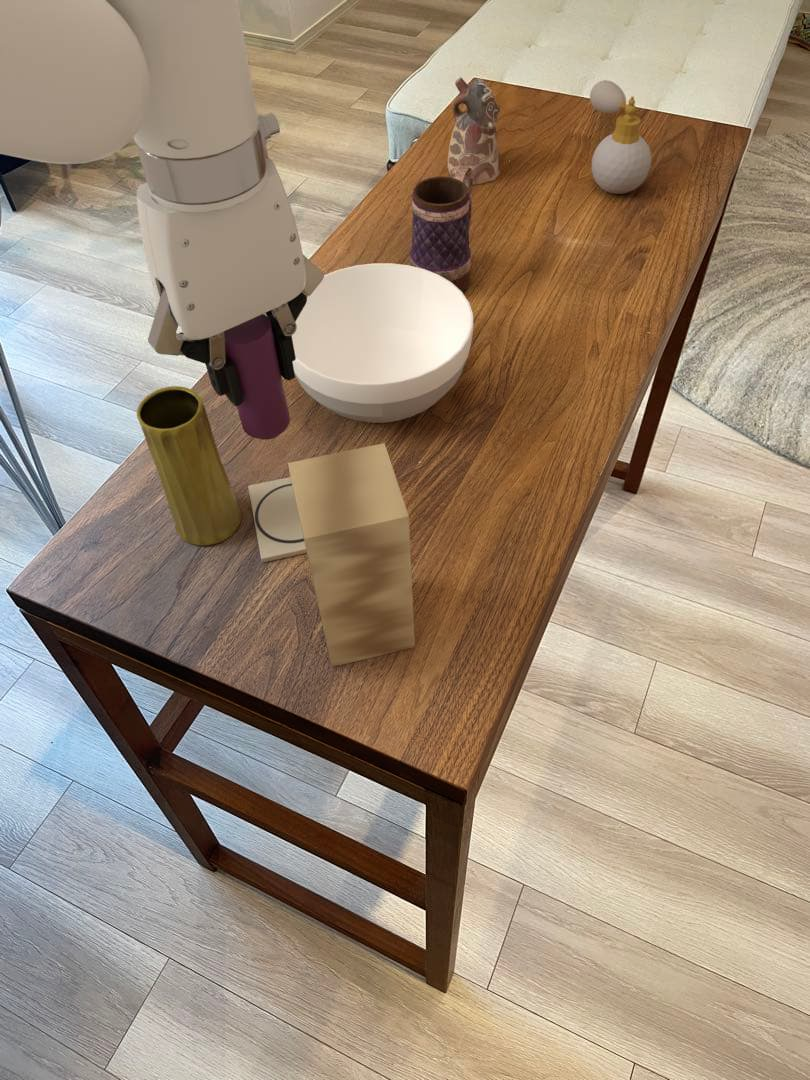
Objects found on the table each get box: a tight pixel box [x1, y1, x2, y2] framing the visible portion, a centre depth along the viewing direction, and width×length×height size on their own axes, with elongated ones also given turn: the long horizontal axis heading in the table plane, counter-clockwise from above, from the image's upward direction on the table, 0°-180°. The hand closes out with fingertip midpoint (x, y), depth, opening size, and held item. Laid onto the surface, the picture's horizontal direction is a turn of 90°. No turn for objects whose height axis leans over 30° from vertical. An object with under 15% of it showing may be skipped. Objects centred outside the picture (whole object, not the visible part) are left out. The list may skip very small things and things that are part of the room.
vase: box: [136, 385, 242, 547], centre depth 72 cm, size 6×6×14 cm
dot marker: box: [225, 313, 291, 441], centre depth 66 cm, size 4×4×11 cm
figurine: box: [447, 77, 501, 186], centre depth 109 cm, size 7×7×12 cm
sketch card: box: [247, 476, 307, 563], centre depth 77 cm, size 11×9×1 cm
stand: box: [287, 442, 416, 668], centre depth 63 cm, size 7×7×17 cm
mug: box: [409, 164, 474, 293], centre depth 95 cm, size 10×7×12 cm
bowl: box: [292, 262, 475, 424], centre depth 84 cm, size 19×19×9 cm
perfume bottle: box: [589, 79, 652, 195], centre depth 106 cm, size 8×10×12 cm
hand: (256, 381), depth 66 cm, fingers closed on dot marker, 4 cm apart
